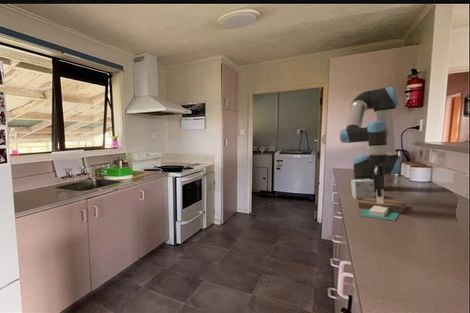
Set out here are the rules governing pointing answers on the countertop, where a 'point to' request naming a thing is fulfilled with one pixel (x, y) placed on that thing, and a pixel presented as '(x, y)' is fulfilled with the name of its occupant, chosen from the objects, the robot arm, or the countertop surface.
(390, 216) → the mat
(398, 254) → the countertop surface
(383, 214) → the cream rectangular block
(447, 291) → the countertop surface
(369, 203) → the brown flat wooden board
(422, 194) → the countertop surface
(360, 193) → the light bulb box
